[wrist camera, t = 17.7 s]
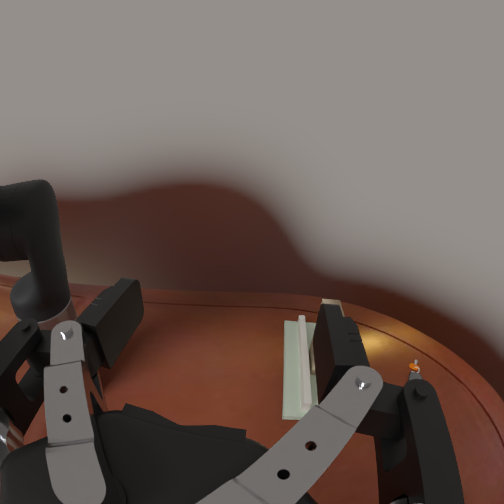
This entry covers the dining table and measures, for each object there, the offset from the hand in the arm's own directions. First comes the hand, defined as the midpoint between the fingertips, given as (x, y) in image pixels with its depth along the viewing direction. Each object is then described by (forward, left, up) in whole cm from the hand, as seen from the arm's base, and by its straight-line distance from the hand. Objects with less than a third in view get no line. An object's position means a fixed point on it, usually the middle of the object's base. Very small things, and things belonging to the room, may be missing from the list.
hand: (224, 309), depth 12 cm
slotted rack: (+1, +28, -30) cm, 41 cm away
